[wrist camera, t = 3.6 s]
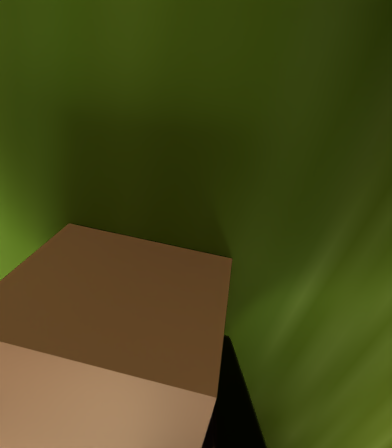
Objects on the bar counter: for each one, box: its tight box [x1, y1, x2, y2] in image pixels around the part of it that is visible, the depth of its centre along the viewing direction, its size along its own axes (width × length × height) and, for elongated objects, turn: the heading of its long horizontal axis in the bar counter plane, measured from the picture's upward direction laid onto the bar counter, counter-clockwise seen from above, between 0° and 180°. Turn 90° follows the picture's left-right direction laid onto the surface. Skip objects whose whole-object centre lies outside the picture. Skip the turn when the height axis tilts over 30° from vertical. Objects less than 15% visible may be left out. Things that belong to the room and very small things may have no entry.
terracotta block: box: [0, 223, 232, 448], centre depth 8 cm, size 5×5×4 cm
